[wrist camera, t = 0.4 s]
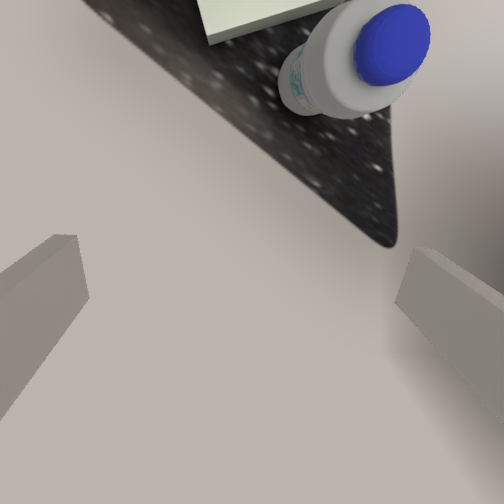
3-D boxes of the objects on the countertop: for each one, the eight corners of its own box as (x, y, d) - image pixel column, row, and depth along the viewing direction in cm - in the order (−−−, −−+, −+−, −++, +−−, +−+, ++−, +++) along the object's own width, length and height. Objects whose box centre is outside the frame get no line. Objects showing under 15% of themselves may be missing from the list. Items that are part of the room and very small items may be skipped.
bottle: (269, 114, 33) (324, 113, 15) (277, 42, 30) (357, -69, 12) (326, 120, 33) (446, 126, 15) (339, 51, 31) (504, -42, 13)
